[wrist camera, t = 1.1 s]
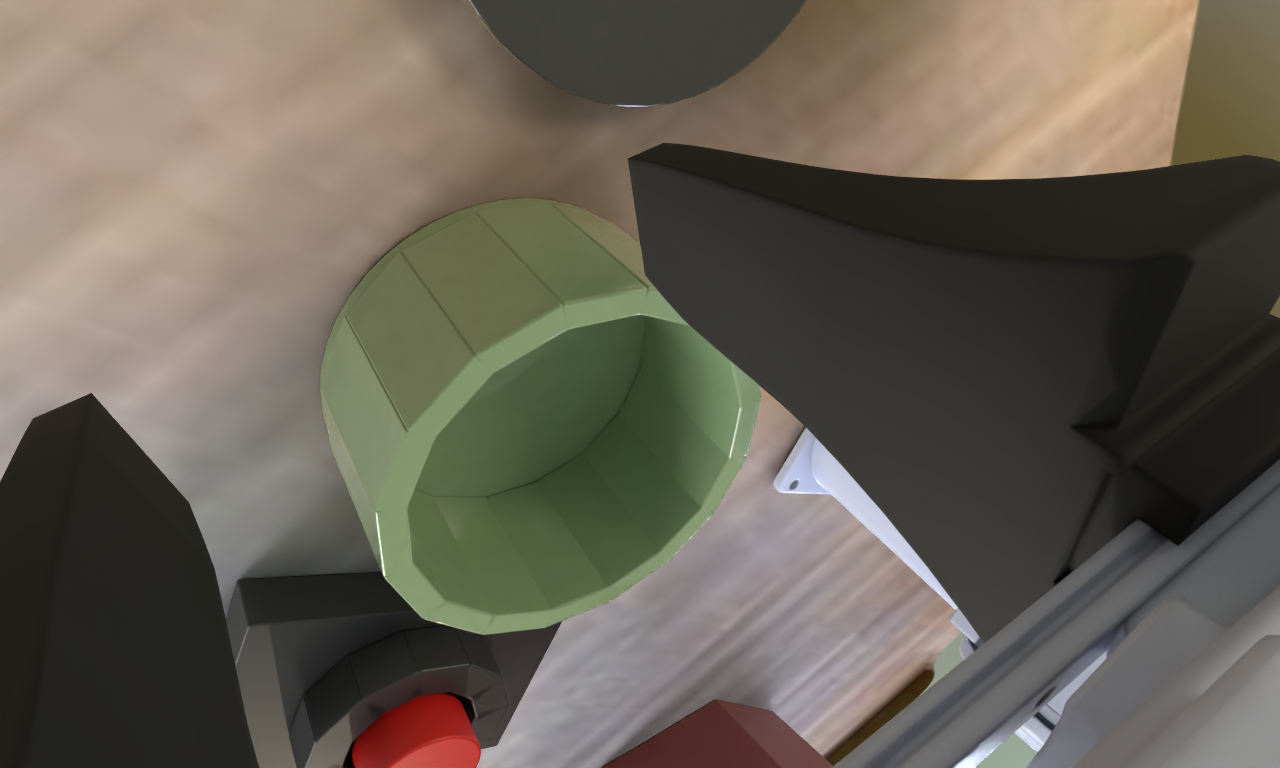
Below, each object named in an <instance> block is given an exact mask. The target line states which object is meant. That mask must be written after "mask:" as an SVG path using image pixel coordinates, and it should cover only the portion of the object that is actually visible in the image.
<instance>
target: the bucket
mask: <svg viewBox="0 0 1280 768" xmlns="http://www.w3.org/2000/svg"><path fill="white" fill-rule="evenodd" d="M832 767H833V765H831V764H830V763H829V762H828V761H827V760H826V759H825V758H824V757H823V756H821V755H820V754H819V753H818V752H817V751H816V750H815V749H814V748H813V747H811V746H810V745H809V744H808V743H807V742H806V741H805V740H804V739H803V738H801V737H800V736H799V735H798V734H797V733H796V732H795V731H794V730H793V729H791V728H790V727H789V726H788V725H787V724H786V723H785V722H784V721H783V720H781V719H780V718H779V717H778V716H777V715H776V714H775V713H774V712H773V711H768V710H763V709H758V708H753V707H749V706H744V705H739V704H734V703H729V702H725V701H720V700H715V701H713V702H711V703H710V704H708V705H706V706H705V707H703V708H701V709H700V710H698V711H696V712H695V713H693V714H691V715H690V716H688V717H686V718H685V719H683V720H681V721H680V722H678V723H676V724H675V725H673V726H671V727H669V728H668V729H666V730H664V731H663V732H661V733H659V734H658V735H656V736H654V737H653V738H651V739H649V740H648V741H646V742H644V743H643V744H641V745H639V746H638V747H636V748H634V749H633V750H631V751H629V752H628V753H626V754H624V755H623V756H621V757H619V758H618V759H616V760H614V761H613V762H611V763H609V764H608V765H606V766H604V767H603V768H832Z"/></svg>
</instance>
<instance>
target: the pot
mask: <svg viewBox="0 0 1280 768" xmlns="http://www.w3.org/2000/svg"><path fill="white" fill-rule="evenodd" d="M320 395H321V408H322V412H323V416H324V420H325V424H326V427H327V430H328V434H329V440H330V446H331V449H332V452H333V454H334V457H335V459H336V462H337V464H338V467H339V469H340V471H341V474H342V476H343V479H344V481H345V484H346V486H347V489H348V491H349V494H350V496H351V498H352V501H353V503H354V506H355V508H356V511H357V513H358V516H359V518H360V521H361V523H362V525H363V528H364V530H365V533H366V535H367V538H368V540H369V543H370V545H371V548H372V550H373V552H374V555H375V557H376V560H377V562H378V565H379V567H380V570H381V572H382V574H383V577H384V579H385V580H386V581H387V582H388V583H389V584H390V585H391V586H392V587H393V588H394V589H395V590H396V591H397V592H398V593H399V594H400V595H401V597H402V598H403V599H404V600H405V601H406V602H407V603H408V604H409V605H410V606H411V607H412V608H413V609H414V610H415V611H416V612H417V613H418V615H419V616H420V617H421V618H423V619H426V620H428V621H432V622H436V623H439V624H443V625H447V626H451V627H454V628H458V629H462V630H465V631H469V632H473V633H477V634H482V635H488V634H496V633H505V632H513V631H522V630H531V629H539V628H546V627H547V626H551V625H553V624H556V623H558V622H560V621H563V620H565V619H568V618H570V617H573V616H575V615H578V614H580V613H583V612H585V611H588V610H590V609H593V608H595V607H597V606H600V605H602V604H605V603H607V602H609V601H610V600H613V599H615V598H616V597H618V596H619V595H621V594H622V593H623V592H625V591H626V590H628V589H629V588H631V587H632V586H634V585H635V584H636V583H638V582H639V581H641V580H642V579H644V578H645V577H647V576H648V575H649V574H651V573H652V572H654V571H655V570H657V569H658V568H660V567H661V566H662V565H664V564H665V563H667V561H669V560H670V559H671V558H672V557H673V556H674V555H675V554H676V553H677V552H678V551H679V550H680V549H681V548H682V546H683V545H684V544H685V543H686V542H687V541H688V540H689V539H690V538H691V537H692V536H693V535H694V534H695V533H696V532H697V531H698V529H699V528H700V527H701V526H702V525H703V524H704V523H705V522H706V521H707V520H708V519H709V518H710V517H711V516H712V515H713V514H714V511H715V510H716V509H717V507H718V506H719V504H720V502H721V500H722V499H723V497H724V495H725V494H726V492H727V490H728V488H729V487H730V485H731V483H732V481H733V480H734V478H735V476H736V475H737V473H738V471H739V469H740V468H741V466H742V464H743V463H744V461H745V459H746V455H747V454H748V451H749V447H750V443H751V439H752V434H753V430H754V426H755V422H756V417H757V413H758V409H759V405H760V401H761V400H760V398H761V393H760V388H759V385H758V384H757V383H756V382H755V381H754V380H753V379H751V378H750V377H749V376H748V375H747V374H745V373H744V372H743V371H742V370H741V369H740V368H738V367H737V366H736V365H735V364H734V363H733V362H731V361H730V360H729V359H728V358H727V357H725V356H724V355H723V354H722V353H721V352H720V351H718V350H717V349H716V348H715V347H714V346H713V345H711V344H710V343H709V342H708V341H707V340H706V339H705V338H703V337H702V336H701V335H700V334H699V333H698V332H697V331H695V330H694V329H693V328H692V327H691V326H690V325H689V324H688V323H686V322H685V321H684V320H683V319H682V318H681V317H680V315H679V314H678V313H677V312H676V311H675V310H674V309H673V308H672V307H671V305H670V304H669V303H668V302H667V301H666V300H665V299H664V297H663V296H662V295H661V294H660V293H659V291H658V290H657V289H656V288H655V287H654V285H653V284H652V283H651V282H650V281H649V279H648V278H647V277H646V276H645V272H644V265H643V258H642V252H641V245H640V244H639V243H638V242H637V241H635V240H634V239H633V238H632V237H630V236H629V235H628V234H627V233H626V232H624V231H623V230H622V229H621V228H619V227H618V226H617V225H616V224H614V223H612V222H611V221H608V220H605V219H602V218H601V217H599V216H597V215H596V214H594V213H592V212H590V211H587V210H585V209H582V208H580V207H577V206H575V205H571V204H567V203H563V202H559V201H555V200H546V199H535V198H522V199H504V200H499V201H493V202H488V203H482V204H478V205H475V206H472V207H469V208H466V209H463V210H459V211H456V212H454V213H452V214H449V215H447V216H445V217H443V218H441V219H439V220H436V221H434V222H432V223H430V224H428V225H427V226H425V227H424V228H422V229H420V230H419V231H417V232H415V233H414V234H412V235H410V236H409V237H407V238H406V239H405V240H403V241H402V242H401V243H400V244H398V245H397V246H396V247H395V248H393V249H392V250H391V251H389V252H388V253H387V254H386V255H385V256H384V257H383V258H382V259H381V260H380V261H379V262H378V263H377V264H376V265H375V266H374V267H373V268H372V269H371V270H370V271H369V272H368V273H367V274H366V275H365V276H364V278H363V279H362V280H361V282H360V283H359V284H358V286H357V287H356V288H355V289H354V291H353V292H352V293H351V295H350V296H349V298H348V300H347V301H346V303H345V305H344V307H343V308H342V310H341V312H340V313H339V315H338V317H337V319H336V322H335V324H334V326H333V329H332V331H331V334H330V336H329V339H328V341H327V345H326V349H325V353H324V357H323V361H322V367H321V379H320Z"/></svg>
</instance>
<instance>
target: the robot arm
mask: <svg viewBox="0 0 1280 768" xmlns="http://www.w3.org/2000/svg"><path fill="white" fill-rule="evenodd" d="M628 163H629V170H630V177H631V183H632V190H633V197H634V204H635V211H636V217H637V224H638V231H639V238H640V245H641V252H642V258H643V265H644V272H645V276H646V277H647V278H648V279H649V281H650V282H651V283H652V284H653V285H654V287H655V288H656V289H657V290H658V291H659V293H660V294H661V295H662V296H663V297H664V299H665V300H666V301H667V302H668V303H669V304H670V305H671V307H672V308H673V309H674V310H675V311H676V312H677V313H678V314H679V315H680V317H681V318H682V319H683V320H684V321H685V322H686V323H688V324H689V325H690V326H691V327H692V328H693V329H694V330H695V331H697V332H698V333H699V334H700V335H701V336H702V337H703V338H705V339H706V340H707V341H708V342H709V343H710V344H711V345H713V346H714V347H715V348H716V349H717V350H718V351H720V352H721V353H722V354H723V355H724V356H725V357H727V358H728V359H729V360H730V361H731V362H733V363H734V364H735V365H736V366H737V367H738V368H740V369H741V370H742V371H743V372H744V373H745V374H747V375H748V376H749V377H750V378H751V379H753V380H754V381H755V382H756V383H757V384H758V385H760V386H761V387H762V388H763V389H764V390H766V391H767V392H768V393H769V394H770V395H771V396H773V397H774V398H775V399H776V400H777V401H778V402H780V403H781V404H782V405H783V406H784V407H785V408H786V409H787V410H788V411H789V412H791V413H792V414H793V415H794V416H795V417H796V418H797V419H798V420H799V421H800V422H801V423H802V424H803V425H804V426H805V427H806V428H805V430H804V431H803V433H802V435H801V436H800V438H799V440H798V441H797V443H796V445H795V446H794V448H793V450H792V451H791V453H790V455H789V456H788V458H787V460H786V461H785V463H784V465H783V466H782V468H781V469H780V471H779V473H778V474H777V476H776V478H775V480H774V483H773V486H774V488H775V489H776V490H777V491H778V492H780V493H809V494H831V495H832V496H833V497H835V498H836V499H837V500H838V501H839V502H840V503H841V504H842V505H843V506H844V507H845V508H846V509H847V510H849V511H850V512H851V513H852V514H853V515H854V516H855V517H856V518H857V519H858V520H859V521H860V522H861V523H863V524H864V525H865V526H866V527H867V528H868V529H869V530H870V531H871V532H872V533H873V534H874V535H876V536H877V537H878V538H879V539H880V540H881V541H882V542H883V543H884V544H885V545H886V546H887V547H888V548H890V549H891V550H892V551H893V552H894V553H895V554H896V555H897V556H898V557H899V558H900V559H901V560H902V561H904V562H905V563H906V564H907V565H908V566H909V567H910V568H911V569H912V570H913V571H914V572H915V573H916V574H918V575H919V576H920V577H921V578H922V579H923V580H924V581H925V582H926V583H927V584H928V585H929V586H930V587H932V588H933V589H934V590H935V591H936V592H937V593H938V594H939V595H940V596H941V597H942V598H943V599H944V600H946V601H947V602H948V603H949V604H950V605H951V606H952V607H953V608H954V609H955V610H956V611H955V612H954V614H953V615H952V616H951V617H950V621H951V622H952V623H953V624H954V625H955V626H956V627H957V628H958V629H959V630H961V631H962V632H963V633H964V634H965V635H966V637H965V638H964V639H963V640H962V642H961V644H960V648H959V649H960V654H961V657H962V659H963V661H962V662H961V663H960V664H959V665H957V666H956V667H955V668H954V669H953V670H951V671H950V672H949V673H948V674H946V675H945V676H944V677H943V678H941V679H940V680H939V681H938V682H937V683H935V684H934V685H933V686H932V687H930V688H929V689H928V690H927V691H926V692H924V693H923V694H922V695H921V696H919V697H918V698H917V699H916V700H914V701H913V702H912V703H911V704H910V705H908V706H907V707H906V708H905V709H903V710H902V711H901V712H900V713H898V714H897V715H896V716H895V717H894V718H892V719H891V720H890V721H889V722H887V723H886V724H885V725H884V726H883V727H881V728H880V729H879V730H878V731H876V732H875V733H874V734H873V735H871V736H870V737H869V738H868V739H867V740H865V741H864V742H863V743H862V744H860V745H859V746H858V747H857V748H856V749H854V750H853V751H852V752H851V753H849V754H848V755H847V756H846V757H844V758H843V759H842V760H841V761H840V762H838V763H837V764H836V765H835V766H833V767H832V768H974V767H976V766H977V765H978V764H979V763H980V762H981V761H982V760H983V759H985V757H987V756H988V755H989V754H990V753H991V752H993V751H994V750H995V749H996V748H997V747H998V746H999V745H1001V744H1002V743H1003V742H1004V741H1005V740H1006V739H1007V738H1008V737H1009V736H1011V735H1012V734H1013V733H1016V734H1017V735H1018V736H1019V737H1020V738H1021V739H1022V740H1024V741H1025V742H1026V743H1027V744H1028V745H1029V746H1030V747H1032V748H1033V749H1034V750H1035V751H1037V752H1038V753H1037V754H1036V756H1035V757H1034V758H1033V760H1032V761H1031V762H1030V763H1029V765H1028V766H1027V767H1026V768H1280V318H1278V317H1275V316H1273V315H1271V314H1269V313H1270V311H1271V310H1272V308H1273V306H1274V304H1275V303H1276V301H1277V299H1278V298H1279V296H1280V162H1278V161H1275V160H1273V159H1268V158H1263V157H1258V156H1250V155H1249V156H1248V155H1242V156H1235V157H1229V158H1222V159H1215V160H1209V161H1202V162H1195V163H1188V164H1181V165H1175V166H1168V167H1161V168H1154V169H1148V170H1139V171H1130V172H1119V173H1108V174H1097V175H1087V176H1075V177H1058V178H1042V179H1003V180H953V179H933V178H913V177H897V176H886V175H875V174H867V173H859V172H851V171H843V170H835V169H828V168H821V167H814V166H808V165H802V164H796V163H790V162H784V161H778V160H772V159H767V158H761V157H756V156H750V155H745V154H739V153H734V152H728V151H723V150H717V149H711V148H705V147H698V146H691V145H683V144H672V143H662V144H660V145H658V146H655V147H653V148H651V149H649V150H646V151H644V152H642V153H639V154H637V155H635V156H633V157H630V158H628ZM0 768H260V767H259V764H258V761H257V758H256V754H255V750H254V747H253V743H252V739H251V735H250V732H249V728H248V723H247V719H246V714H245V709H244V704H243V700H242V695H241V690H240V685H239V680H238V676H237V671H236V666H235V661H234V657H233V652H232V647H231V642H230V637H229V633H228V628H227V623H226V619H225V614H224V609H223V605H222V600H221V596H220V591H219V586H218V582H217V578H216V573H215V569H214V566H213V563H212V561H211V558H210V555H209V553H208V550H207V547H206V545H205V542H204V539H203V537H202V534H201V532H200V529H199V527H198V524H197V522H196V519H195V517H194V514H193V512H192V509H191V507H190V504H189V502H188V501H187V500H186V499H185V498H184V496H183V495H182V494H181V493H180V492H179V491H178V490H177V489H176V487H175V486H174V485H173V484H172V483H171V482H170V481H169V480H168V478H167V477H166V476H165V475H164V474H163V473H162V472H161V471H160V469H159V468H158V467H157V466H156V465H155V464H154V463H153V462H152V461H151V459H150V458H149V457H148V456H147V455H146V454H145V453H144V452H143V450H142V449H141V448H140V447H139V446H138V445H137V444H136V443H135V441H134V440H133V439H132V438H131V437H130V436H129V435H128V434H127V433H126V431H125V430H124V429H123V428H122V427H121V426H120V425H119V424H118V422H117V421H116V420H115V419H114V418H113V417H112V416H111V415H110V413H109V412H108V411H107V410H106V409H105V408H104V407H103V406H102V404H101V403H100V402H99V401H98V400H97V399H96V398H95V397H94V396H93V394H92V393H90V394H88V395H86V396H84V397H81V398H79V399H77V400H74V401H72V402H70V403H68V404H65V405H63V406H61V407H58V408H56V409H54V410H52V411H49V412H47V413H45V414H42V415H40V416H38V417H36V418H33V420H32V421H31V423H30V425H29V427H28V428H27V430H26V432H25V434H24V435H23V437H22V439H21V441H20V443H19V445H18V447H17V449H16V451H15V453H14V455H13V457H12V459H11V461H10V463H9V465H8V467H7V469H6V471H5V474H4V476H3V478H2V480H1V482H0Z"/></svg>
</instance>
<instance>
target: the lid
mask: <svg viewBox="0 0 1280 768" xmlns="http://www.w3.org/2000/svg"><path fill="white" fill-rule="evenodd" d="M464 1H465V3H466V5H467V6H468V8H469V9H470V10H471V12H472V13H473V14H474V15H475V17H476V18H477V19H478V20H479V22H480V23H481V24H482V26H483V27H484V28H485V29H486V31H487V32H488V33H489V34H490V36H491V37H492V38H493V39H495V40H496V41H497V42H498V43H499V44H500V45H501V46H502V47H503V48H504V49H505V50H506V51H507V52H508V53H509V54H510V55H511V56H512V57H513V58H514V59H516V60H517V61H518V62H520V63H521V64H522V65H524V66H525V67H526V68H528V69H529V70H530V71H532V72H533V73H534V74H536V75H537V76H539V77H540V78H542V79H544V80H545V81H547V82H549V83H551V84H553V85H555V86H557V87H558V88H560V89H562V90H564V91H566V92H568V93H570V94H573V95H576V96H579V97H581V98H584V99H587V100H590V101H593V102H597V103H602V104H608V105H614V106H619V107H649V106H656V105H663V104H670V103H673V102H677V101H680V100H684V99H687V98H690V97H694V96H696V95H698V94H701V93H703V92H705V91H707V90H709V89H712V88H714V87H716V86H718V85H719V84H721V83H723V82H724V81H726V80H728V79H729V78H731V77H732V76H734V75H736V74H737V73H739V72H740V71H741V70H743V69H744V68H745V67H746V66H748V65H749V64H750V63H751V62H753V61H754V60H755V59H756V58H758V57H759V56H760V55H761V54H762V53H763V52H764V51H765V50H766V49H767V48H768V47H769V46H770V45H771V44H772V43H773V42H774V41H775V40H776V39H777V38H778V37H779V36H780V35H781V34H782V32H783V31H784V30H785V29H786V27H787V26H788V25H789V24H790V23H791V21H792V20H793V19H794V18H795V16H796V15H797V14H798V13H799V11H800V10H801V8H802V7H803V5H804V4H805V2H806V1H807V0H464Z"/></svg>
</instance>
